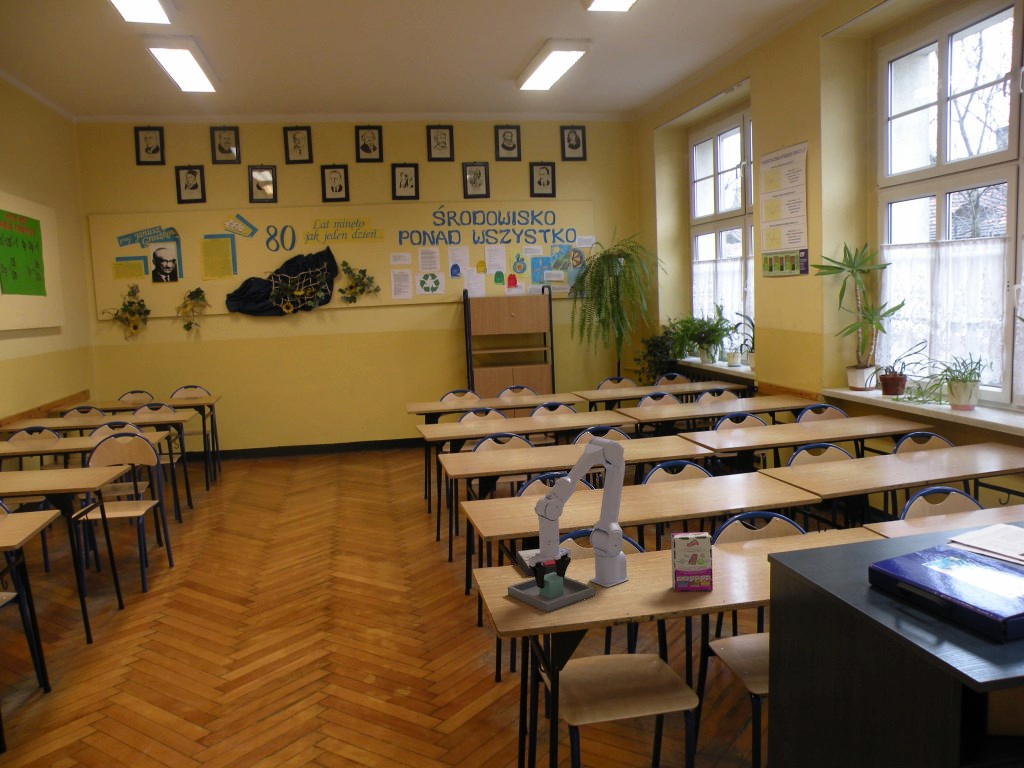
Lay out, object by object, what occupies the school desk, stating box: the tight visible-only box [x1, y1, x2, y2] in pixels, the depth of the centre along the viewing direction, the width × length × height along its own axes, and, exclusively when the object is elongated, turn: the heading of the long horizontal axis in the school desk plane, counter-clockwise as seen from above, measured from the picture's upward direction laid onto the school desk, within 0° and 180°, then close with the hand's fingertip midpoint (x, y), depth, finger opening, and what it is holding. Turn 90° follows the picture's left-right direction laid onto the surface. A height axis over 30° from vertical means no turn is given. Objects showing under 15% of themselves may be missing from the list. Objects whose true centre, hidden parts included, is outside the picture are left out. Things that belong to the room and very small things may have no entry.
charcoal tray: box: [507, 572, 596, 614], centre depth 224 cm, size 18×18×2 cm
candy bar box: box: [670, 531, 714, 593], centre depth 225 cm, size 11×5×16 cm, turn 89°
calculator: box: [515, 548, 557, 577], centre depth 248 cm, size 11×4×15 cm
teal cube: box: [539, 573, 564, 599], centre depth 223 cm, size 5×5×5 cm
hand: (550, 584), depth 223 cm, fingers open, 7 cm apart
